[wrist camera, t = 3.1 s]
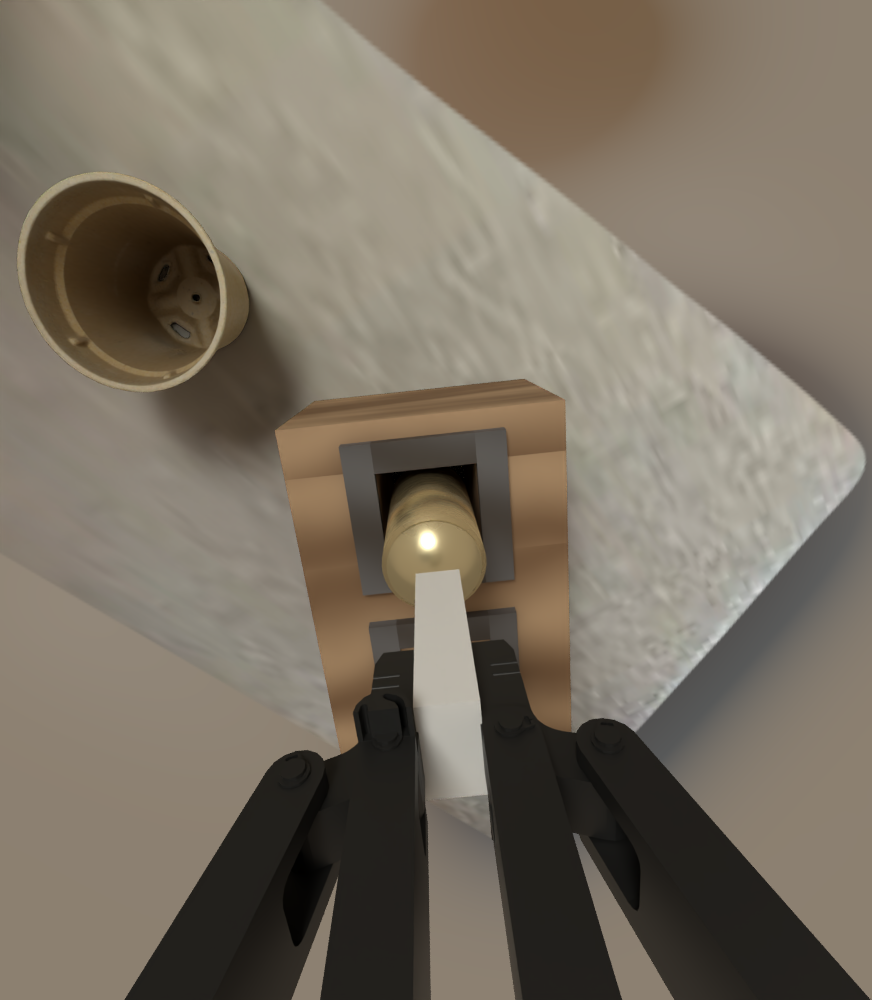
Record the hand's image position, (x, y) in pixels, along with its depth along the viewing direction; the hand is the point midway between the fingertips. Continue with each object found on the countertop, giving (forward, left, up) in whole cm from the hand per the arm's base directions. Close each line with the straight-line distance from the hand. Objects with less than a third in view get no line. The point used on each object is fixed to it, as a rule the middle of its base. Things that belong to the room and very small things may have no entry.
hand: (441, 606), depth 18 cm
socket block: (+5, 0, -19) cm, 20 cm away
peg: (0, 0, -11) cm, 11 cm away
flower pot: (-12, -13, -19) cm, 26 cm away
